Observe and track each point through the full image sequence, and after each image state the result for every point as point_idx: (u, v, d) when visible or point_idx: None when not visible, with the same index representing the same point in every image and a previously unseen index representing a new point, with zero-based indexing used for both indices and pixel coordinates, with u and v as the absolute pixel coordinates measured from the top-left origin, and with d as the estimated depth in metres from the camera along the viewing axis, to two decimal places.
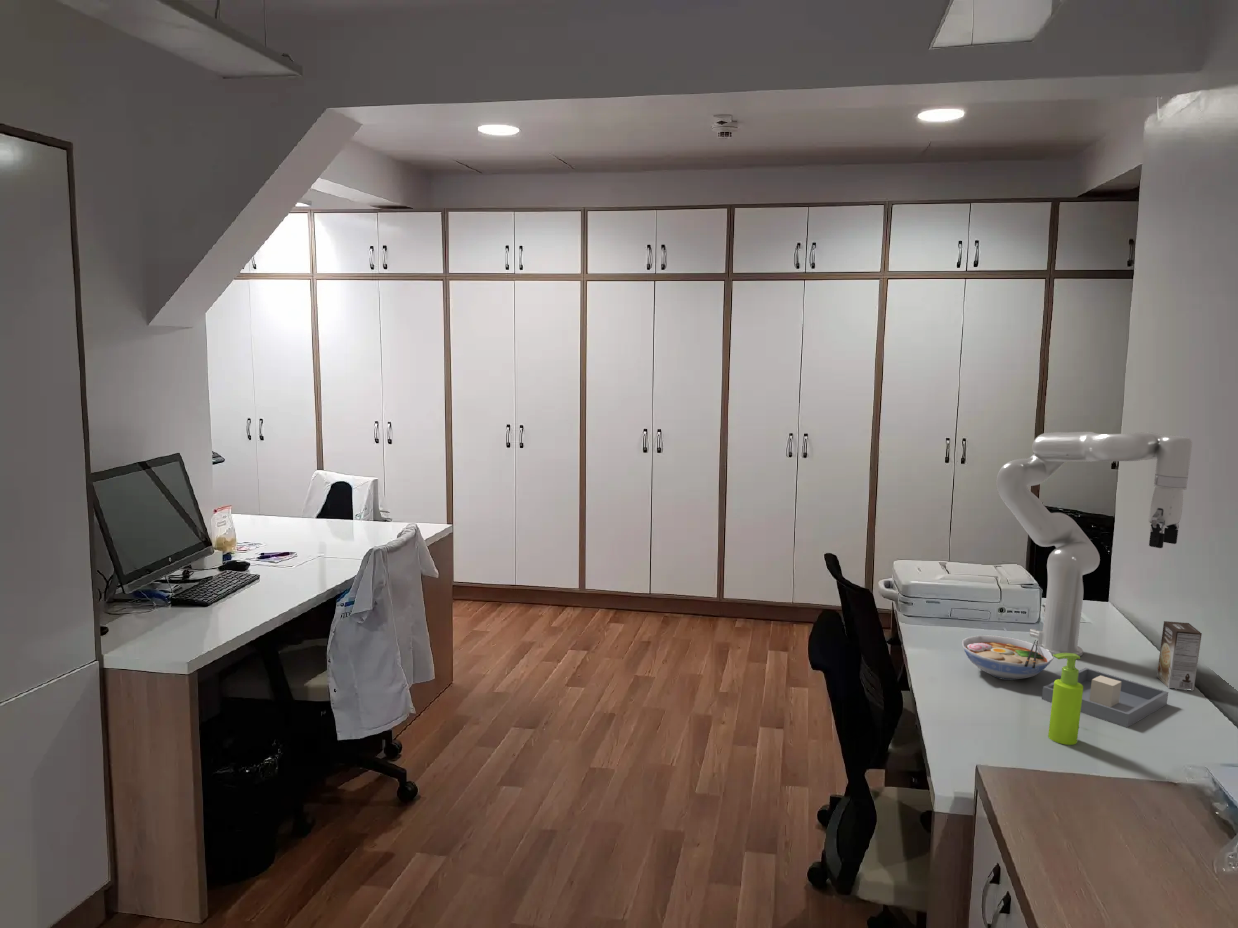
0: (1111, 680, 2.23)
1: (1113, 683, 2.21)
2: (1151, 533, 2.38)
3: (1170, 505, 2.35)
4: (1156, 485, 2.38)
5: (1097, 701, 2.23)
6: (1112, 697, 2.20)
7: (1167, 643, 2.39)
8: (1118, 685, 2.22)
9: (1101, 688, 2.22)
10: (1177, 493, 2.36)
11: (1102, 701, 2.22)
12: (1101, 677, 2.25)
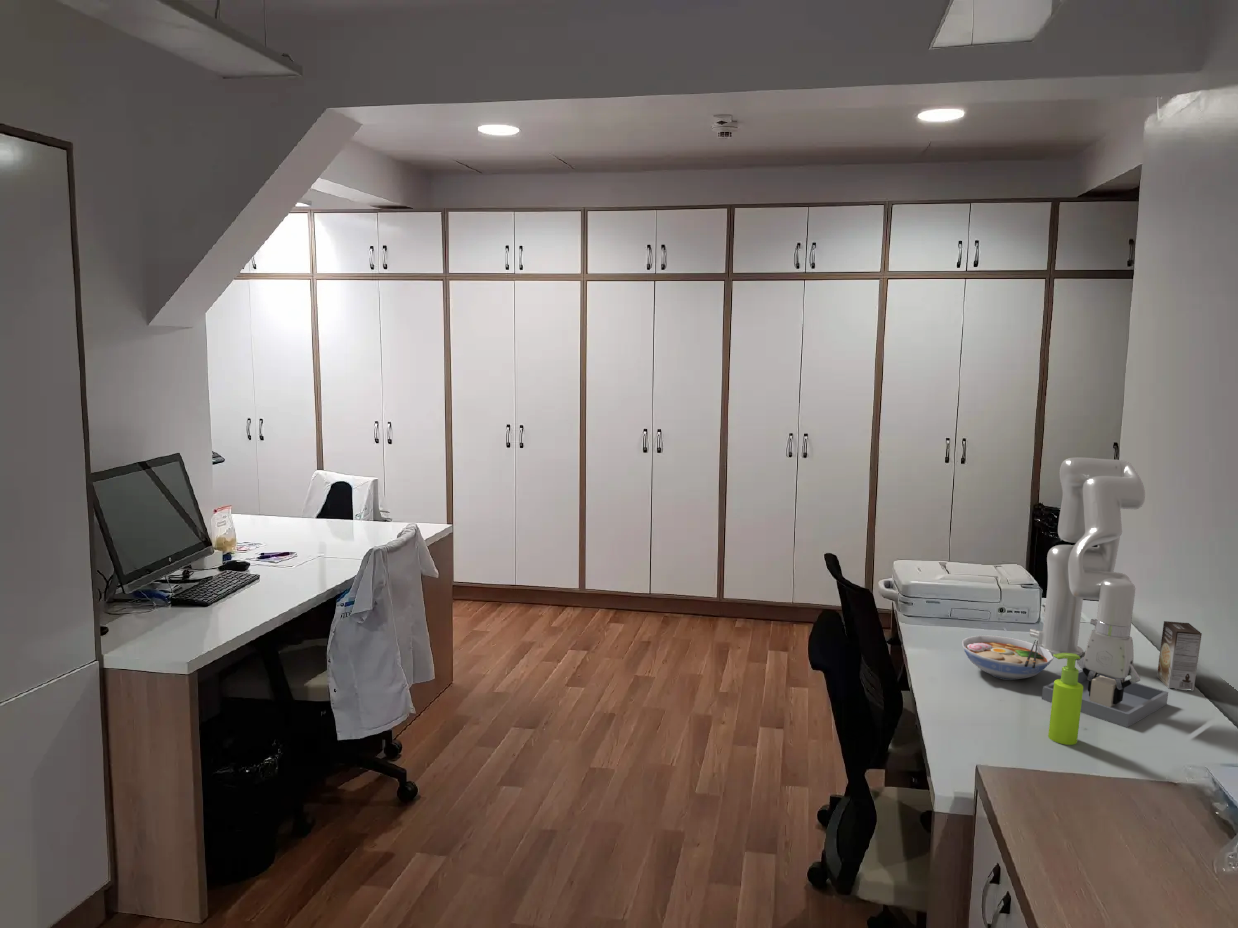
0: (1111, 680, 2.23)
1: (1113, 683, 2.21)
2: (1117, 691, 2.20)
3: None
4: (1121, 637, 2.18)
5: (1097, 701, 2.23)
6: (1112, 697, 2.20)
7: (1167, 643, 2.39)
8: None
9: (1101, 688, 2.22)
10: None
11: (1102, 701, 2.22)
12: (1101, 677, 2.25)
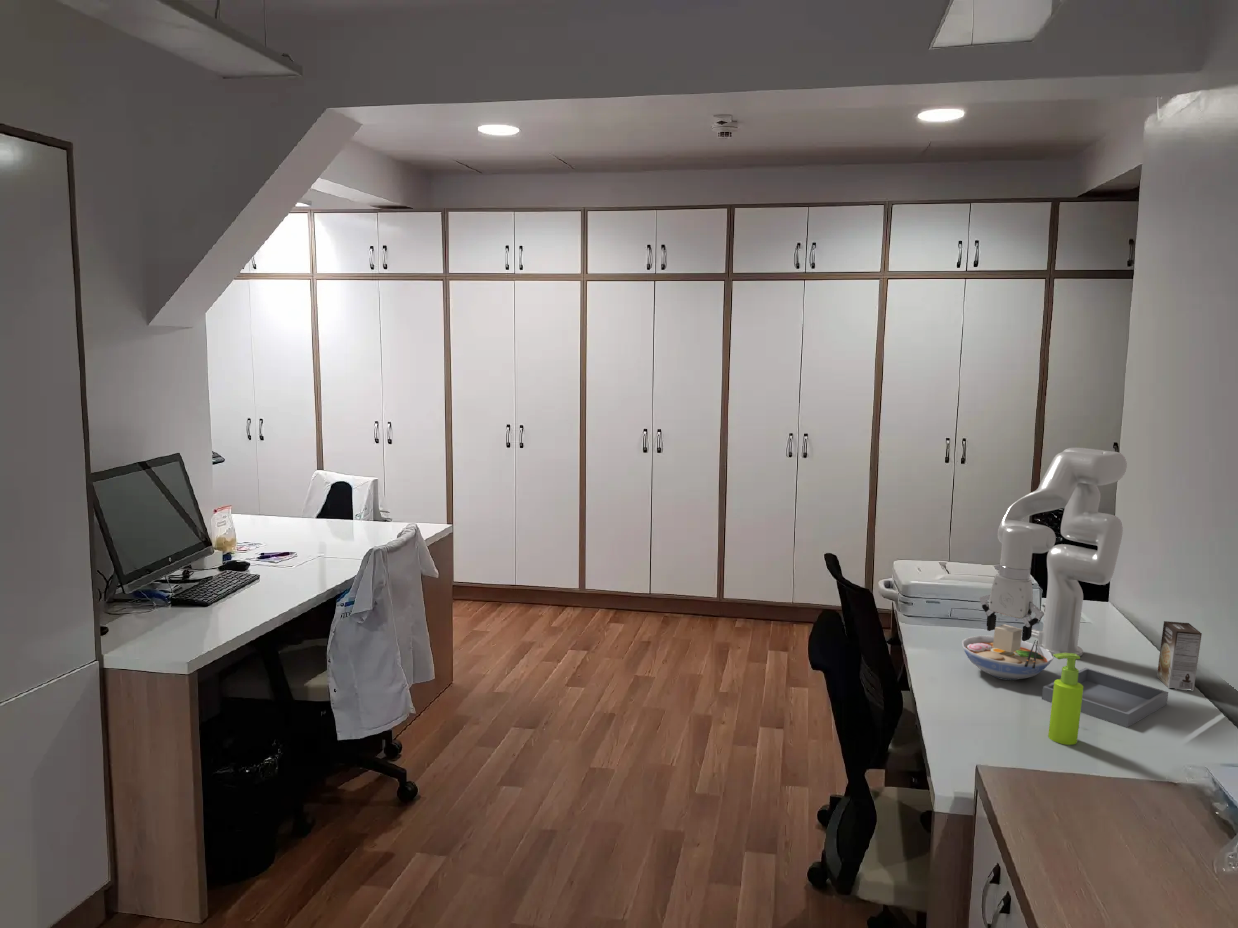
0: (1012, 628, 2.40)
1: (1014, 630, 2.38)
2: (1025, 628, 2.35)
3: None
4: (1020, 580, 2.34)
5: (999, 647, 2.40)
6: (1013, 643, 2.37)
7: (1167, 643, 2.39)
8: (1018, 632, 2.39)
9: (1002, 635, 2.39)
10: None
11: (1004, 647, 2.39)
12: (1004, 625, 2.42)
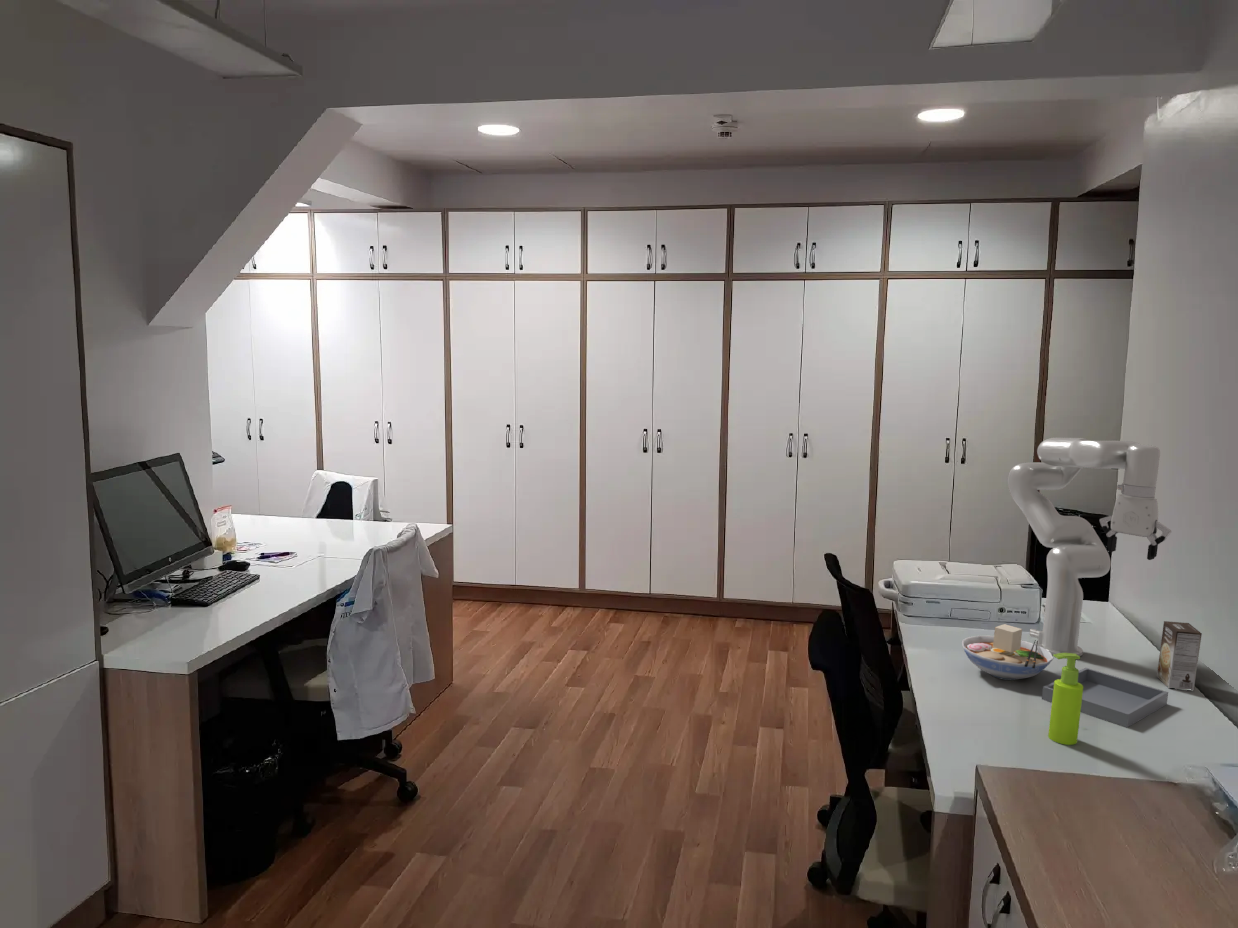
0: (1012, 628, 2.40)
1: (1014, 630, 2.38)
2: (1151, 546, 2.32)
3: None
4: (1146, 498, 2.32)
5: (999, 647, 2.40)
6: (1013, 642, 2.37)
7: (1167, 643, 2.39)
8: (1018, 632, 2.39)
9: (1002, 635, 2.39)
10: None
11: (1004, 647, 2.39)
12: (1004, 625, 2.42)
